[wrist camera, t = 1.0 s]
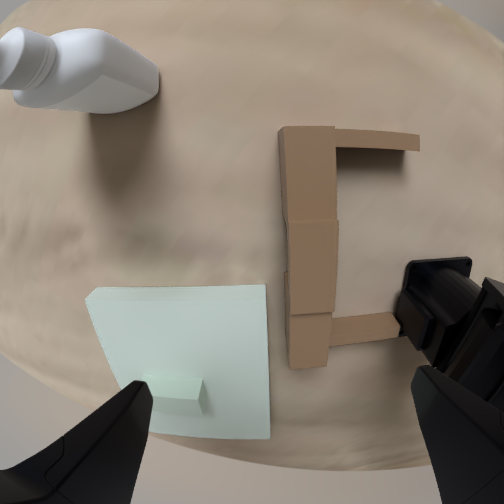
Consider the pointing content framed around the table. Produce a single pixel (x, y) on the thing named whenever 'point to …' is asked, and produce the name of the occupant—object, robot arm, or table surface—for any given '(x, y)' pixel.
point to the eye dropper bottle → (75, 71)
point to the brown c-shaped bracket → (322, 241)
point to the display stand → (191, 355)
